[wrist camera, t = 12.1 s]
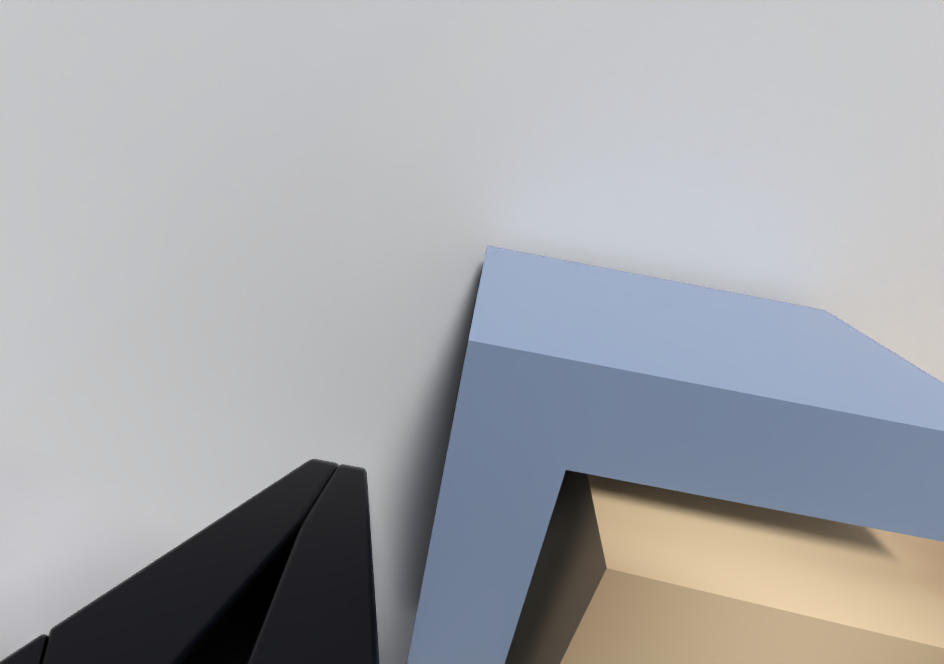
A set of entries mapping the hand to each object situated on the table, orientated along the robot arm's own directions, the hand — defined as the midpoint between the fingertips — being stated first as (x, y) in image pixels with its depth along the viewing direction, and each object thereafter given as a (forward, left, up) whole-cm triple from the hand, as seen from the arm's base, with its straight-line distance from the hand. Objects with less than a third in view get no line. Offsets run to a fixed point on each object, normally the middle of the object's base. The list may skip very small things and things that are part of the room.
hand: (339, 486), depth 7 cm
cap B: (-4, 0, -1) cm, 4 cm away
